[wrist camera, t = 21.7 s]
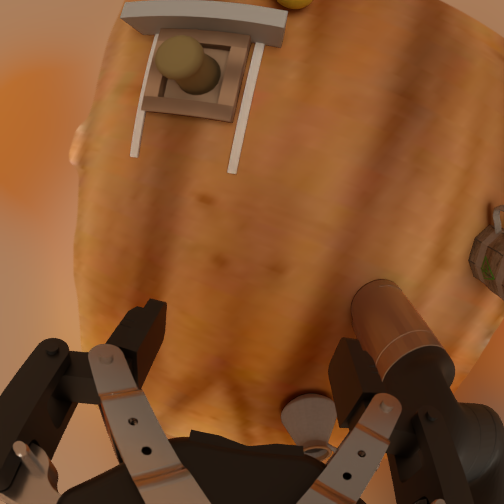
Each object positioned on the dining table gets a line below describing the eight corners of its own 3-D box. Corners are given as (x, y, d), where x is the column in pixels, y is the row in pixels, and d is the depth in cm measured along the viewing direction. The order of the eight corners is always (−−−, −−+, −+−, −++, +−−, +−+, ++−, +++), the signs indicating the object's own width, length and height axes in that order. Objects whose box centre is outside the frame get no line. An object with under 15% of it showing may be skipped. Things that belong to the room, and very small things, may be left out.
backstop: (252, 176, 40) (248, 185, 32) (118, 154, 39) (89, 159, 32) (284, 33, 32) (288, 11, 25) (147, 21, 32) (125, 2, 24)
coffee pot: (270, 413, 56) (269, 472, 42) (299, 380, 53) (305, 444, 39) (349, 432, 59) (359, 483, 45) (380, 403, 55) (398, 457, 41)
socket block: (232, 123, 37) (230, 121, 34) (149, 111, 37) (140, 110, 34) (251, 42, 33) (250, 35, 30) (167, 34, 32) (160, 28, 30)
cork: (167, 76, 34) (135, 57, 24) (200, 46, 33) (178, 17, 22) (196, 104, 36) (171, 92, 26) (230, 74, 34) (217, 51, 24)
